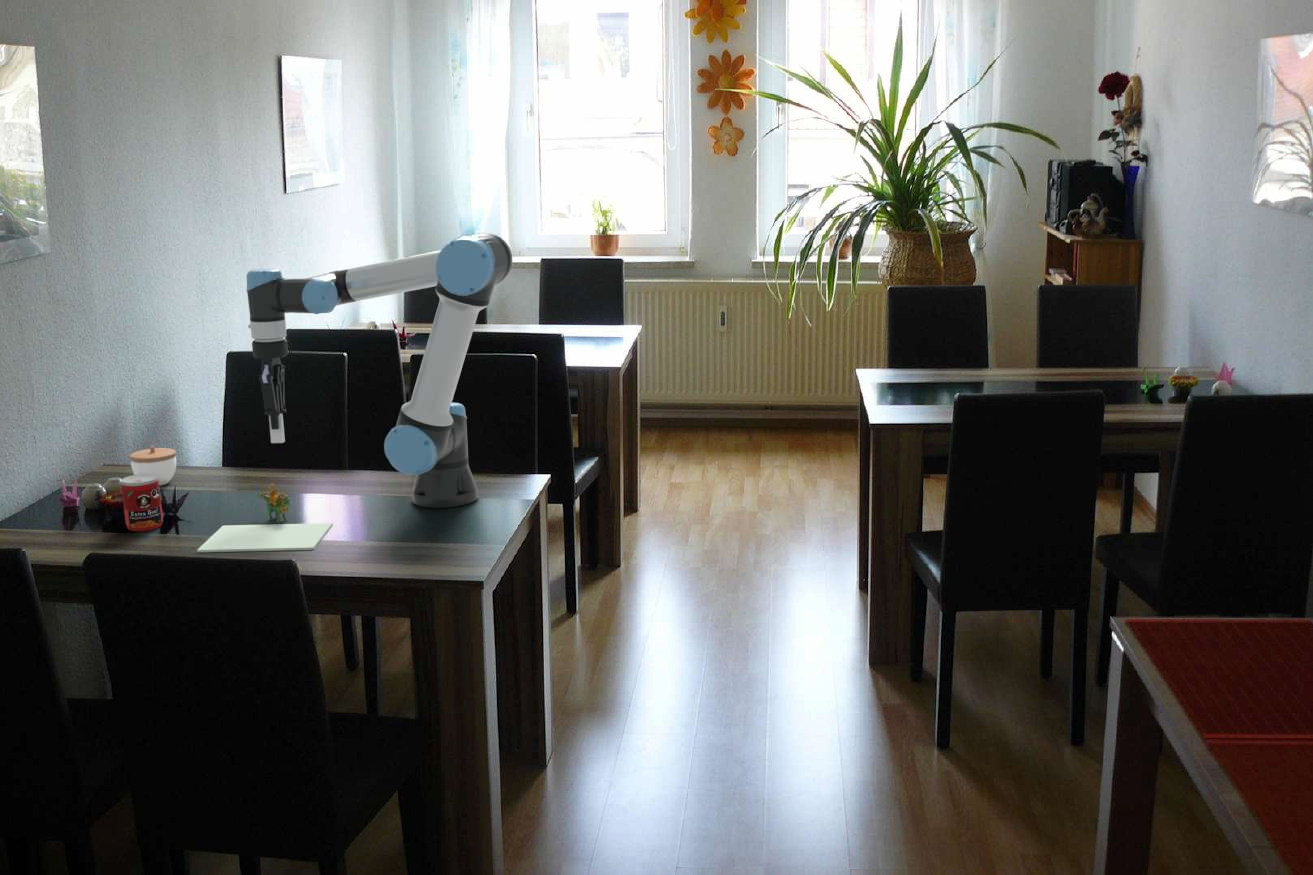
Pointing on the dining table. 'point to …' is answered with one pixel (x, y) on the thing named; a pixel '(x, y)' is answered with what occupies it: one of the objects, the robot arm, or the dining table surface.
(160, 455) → the lidded jar
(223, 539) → the mat
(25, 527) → the dining table surface
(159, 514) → the canned food
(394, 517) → the dining table surface
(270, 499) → the figurine
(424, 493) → the robot arm
